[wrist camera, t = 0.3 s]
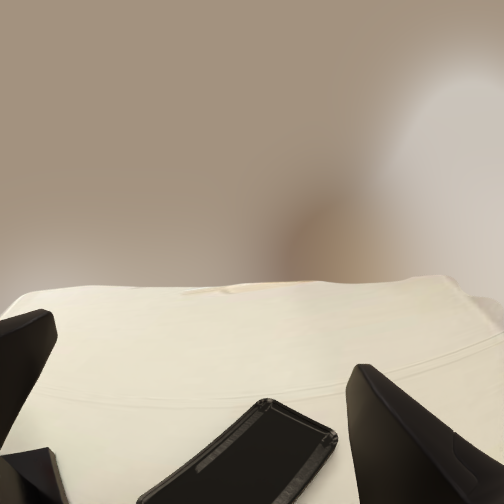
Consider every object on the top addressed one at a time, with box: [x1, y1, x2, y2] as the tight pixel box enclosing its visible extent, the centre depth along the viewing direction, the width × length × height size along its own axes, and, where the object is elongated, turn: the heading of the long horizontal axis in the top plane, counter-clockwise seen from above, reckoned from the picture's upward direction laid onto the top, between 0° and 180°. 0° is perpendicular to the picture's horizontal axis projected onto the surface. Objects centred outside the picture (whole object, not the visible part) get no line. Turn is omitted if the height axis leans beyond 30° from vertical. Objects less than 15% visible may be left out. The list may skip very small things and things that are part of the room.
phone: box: [136, 398, 338, 504], centre depth 16 cm, size 8×1×15 cm
